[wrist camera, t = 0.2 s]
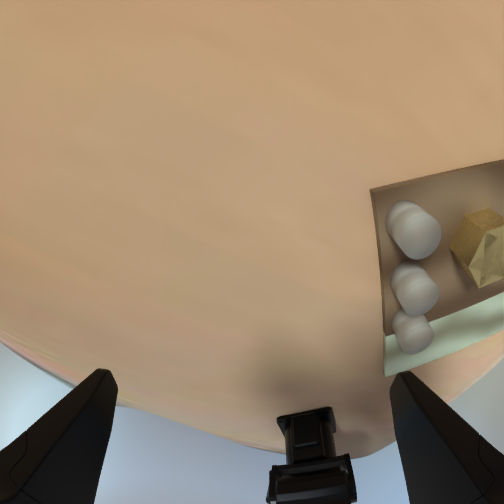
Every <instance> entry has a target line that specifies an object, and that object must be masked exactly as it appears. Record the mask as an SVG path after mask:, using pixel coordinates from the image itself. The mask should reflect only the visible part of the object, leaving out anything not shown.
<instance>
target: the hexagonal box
mask: <svg viewBox="0 0 504 504" xmlns="http://www.w3.org/2000/svg"><path fill="white" fill-rule="evenodd" d="M450 250H451V251H452V253H453V255H454V257H455V258H456V260H457V262H458V264H459V265H460V267H461V269H462V270H463V271H464V272H465V273H466V274H467V276H468V277H469V278H470V279H471V280H472V281H473V282H474V283H475V284H476V286H477V287H478V288H481V287H484V286H486V285H489V284H491V283H493V282H496V281H498V280H500V279H502V278H504V218H503V217H502V216H500V215H499V214H498V213H496V212H495V211H493V210H492V209H490V208H487V209H484V210H480V211H477V212H474V213H470V214H467V215H464V216H463V219H462V221H461V223H460V226H459V228H458V230H457V232H456V235H455V237H454V239H453V241H452V243H451V246H450Z"/></svg>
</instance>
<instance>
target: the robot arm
mask: <svg viewBox="0 0 504 504" xmlns="http://www.w3.org/2000/svg"><path fill="white" fill-rule="evenodd" d="M117 394H118V386H117V384H116V381H115V379H114V377H113V375H112V373H111V371H110V370H107V369H101V368H99V369H96V370H95V371H94V372H93V373H92V374H90V375H89V376H88V377H87V378H86V379H85V380H83V381H82V382H81V383H80V384H79V385H78V386H76V387H75V388H74V389H73V390H72V391H71V392H70V393H68V394H67V395H66V396H65V397H64V398H63V399H61V400H60V401H59V402H58V403H57V404H56V405H55V406H53V407H52V408H51V409H50V410H49V411H48V412H46V413H45V414H44V415H43V416H42V417H41V418H40V419H38V420H37V421H36V422H35V423H34V424H33V425H31V427H29V428H28V429H27V431H25V432H23V433H22V434H21V435H20V436H19V437H18V438H16V439H15V440H14V441H13V442H12V443H10V444H9V445H8V446H7V447H5V448H4V449H2V450H1V451H0V504H94V501H95V496H96V492H97V487H98V482H99V478H100V474H101V470H102V466H103V461H104V458H105V454H106V449H107V446H108V442H109V438H110V434H111V430H112V424H113V418H114V412H115V406H116V400H117ZM390 400H391V407H392V414H393V422H394V429H395V435H396V440H397V444H398V448H399V453H400V457H401V461H402V466H403V471H404V475H405V480H406V485H407V491H408V496H409V501H410V504H504V455H503V454H502V453H501V452H499V451H498V450H497V449H496V448H494V447H493V446H492V445H491V444H490V443H489V442H487V441H486V440H485V439H484V438H483V437H482V436H481V435H479V433H478V432H477V431H476V430H475V429H473V428H472V427H471V426H470V425H469V424H468V423H467V422H466V421H465V420H464V419H463V418H461V417H460V416H459V415H458V414H457V413H456V412H455V411H454V410H453V409H452V408H451V407H449V406H448V405H447V404H446V403H445V402H444V401H443V400H442V399H441V398H440V397H439V396H437V395H436V394H435V393H434V392H433V391H432V390H431V389H430V388H429V387H428V386H426V385H425V384H424V383H423V382H422V381H421V380H420V379H419V378H418V377H416V376H415V375H414V374H413V373H412V372H410V371H403V372H399V373H398V374H397V375H396V377H395V379H394V381H393V383H392V385H391V387H390ZM277 424H278V425H279V427H280V429H281V431H282V433H283V435H284V437H285V445H286V463H287V465H278V466H277V465H273V466H272V470H271V471H269V475H270V476H269V487H268V492H267V497H266V502H267V503H268V504H351V503H354V502H357V493H356V485H355V479H354V475H353V470H352V466H351V461H350V456H349V453H347V454H344V455H341V456H336V450H335V444H334V438H333V433H335V432H336V428H335V423H334V418H333V413H332V409H331V408H330V407H327V408H322V409H318V410H313V411H308V412H303V413H298V414H293V415H288V416H282V417H278V418H277Z"/></svg>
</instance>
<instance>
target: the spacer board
mask: <svg viewBox="0 0 504 504" xmlns="http://www.w3.org/2000/svg"><path fill="white" fill-rule="evenodd" d="M370 193H371V200H372V206H373V213H374V221H375V228H376V237H377V246H378V255H379V266H380V278H381V292H382V310H383V341H384V375H385V377H388V376H391V375H394V374H397V373H399V372H403V371H406V370H409V369H412V368H415V367H417V366H420V365H423V364H426V363H428V362H431V361H433V360H436V359H439V358H441V357H444V356H446V355H449V354H451V353H453V352H456V351H458V350H461V349H463V348H465V347H467V346H470V345H472V344H474V343H476V342H479V341H481V340H483V339H485V338H487V337H489V336H491V335H493V334H495V333H497V332H499V331H501V330H503V329H504V278H502V279H500V280H498V281H496V282H493V283H491V284H489V285H486V286H484V287H481V288H478V287H477V286H476V284H475V283H474V282H473V281H472V280H471V279H470V278H469V277H468V276H467V274H466V273H465V272H464V271H463V270H462V269H461V267H460V265H459V264H458V262H457V260H456V258H455V257H454V255H453V253H452V251H451V250H450V246H451V243H452V241H453V239H454V237H455V235H456V232H457V230H458V228H459V226H460V223H461V221H462V219H463V216H464V215H467V214H470V213H474V212H477V211H480V210H484V209H487V208H490V209H492V210H493V211H495V212H496V213H498V214H499V215H500V216H502V217H503V218H504V160H499V161H494V162H489V163H484V164H479V165H474V166H470V167H465V168H460V169H456V170H451V171H447V172H442V173H438V174H433V175H429V176H424V177H420V178H416V179H411V180H407V181H403V182H399V183H394V184H390V185H386V186H382V187H378V188H374V189H370Z"/></svg>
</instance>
